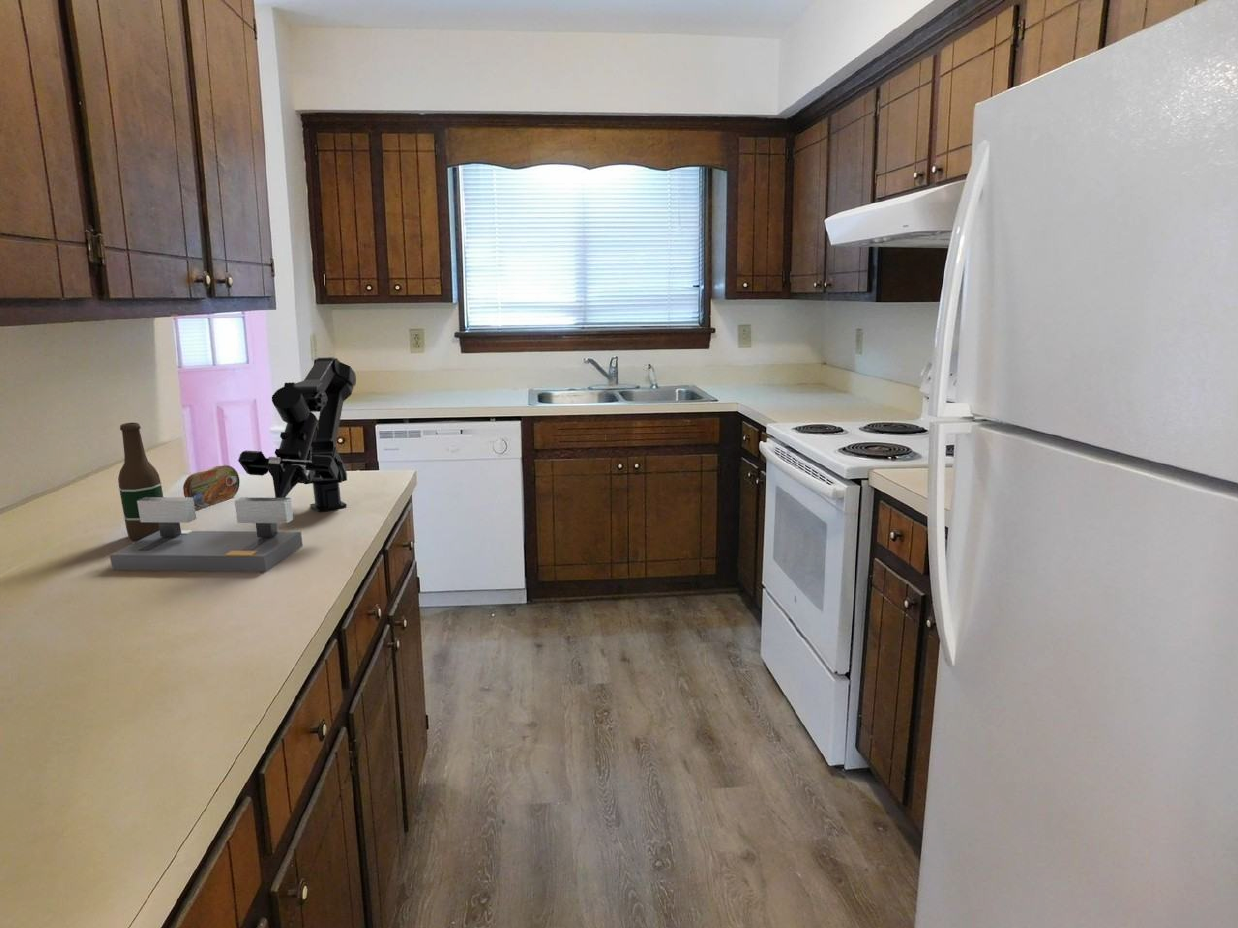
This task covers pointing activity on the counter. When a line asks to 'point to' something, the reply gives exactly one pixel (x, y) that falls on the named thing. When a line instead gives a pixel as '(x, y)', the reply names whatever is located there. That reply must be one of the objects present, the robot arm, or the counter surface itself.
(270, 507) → the switch
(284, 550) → the switch panel
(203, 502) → the tin
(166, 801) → the counter surface
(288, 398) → the robot arm
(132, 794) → the counter surface
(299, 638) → the counter surface
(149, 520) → the switch
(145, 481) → the beer bottle
